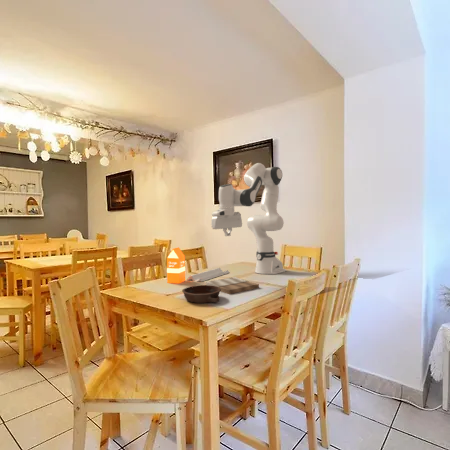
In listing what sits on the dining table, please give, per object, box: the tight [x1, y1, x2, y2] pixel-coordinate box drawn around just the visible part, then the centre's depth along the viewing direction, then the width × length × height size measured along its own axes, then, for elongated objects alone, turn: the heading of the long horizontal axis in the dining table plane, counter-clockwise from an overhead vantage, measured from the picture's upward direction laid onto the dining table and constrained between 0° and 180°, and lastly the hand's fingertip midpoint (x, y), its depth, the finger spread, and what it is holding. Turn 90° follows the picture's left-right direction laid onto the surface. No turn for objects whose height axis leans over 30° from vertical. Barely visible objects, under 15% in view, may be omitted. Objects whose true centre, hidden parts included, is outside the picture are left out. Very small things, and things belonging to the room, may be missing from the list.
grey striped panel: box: [205, 276, 247, 287], centre depth 162 cm, size 20×11×2 cm, turn 127°
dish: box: [181, 284, 221, 304], centre depth 136 cm, size 18×22×5 cm
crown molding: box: [186, 267, 230, 282], centre depth 190 cm, size 31×12×4 cm, turn 148°
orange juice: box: [166, 247, 186, 284], centre depth 175 cm, size 8×9×20 cm
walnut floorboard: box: [219, 280, 260, 295], centre depth 154 cm, size 20×9×2 cm, turn 127°
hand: (227, 236), depth 172 cm, fingers closed
